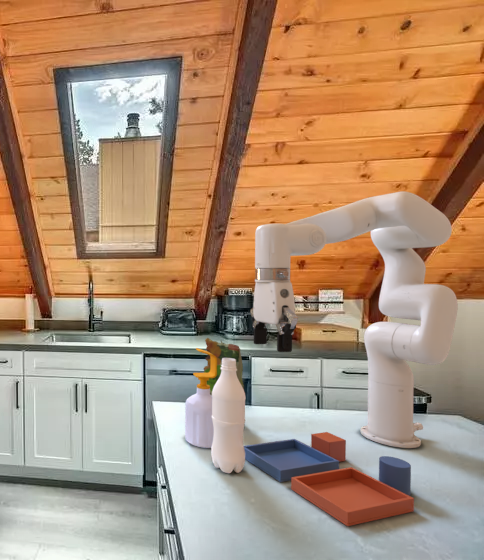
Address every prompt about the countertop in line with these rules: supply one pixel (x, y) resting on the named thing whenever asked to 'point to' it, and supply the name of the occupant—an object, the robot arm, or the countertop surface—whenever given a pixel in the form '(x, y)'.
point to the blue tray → (289, 459)
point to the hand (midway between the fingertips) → (271, 347)
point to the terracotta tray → (352, 495)
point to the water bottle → (228, 419)
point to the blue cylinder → (395, 473)
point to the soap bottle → (201, 409)
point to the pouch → (221, 352)
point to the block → (329, 445)
